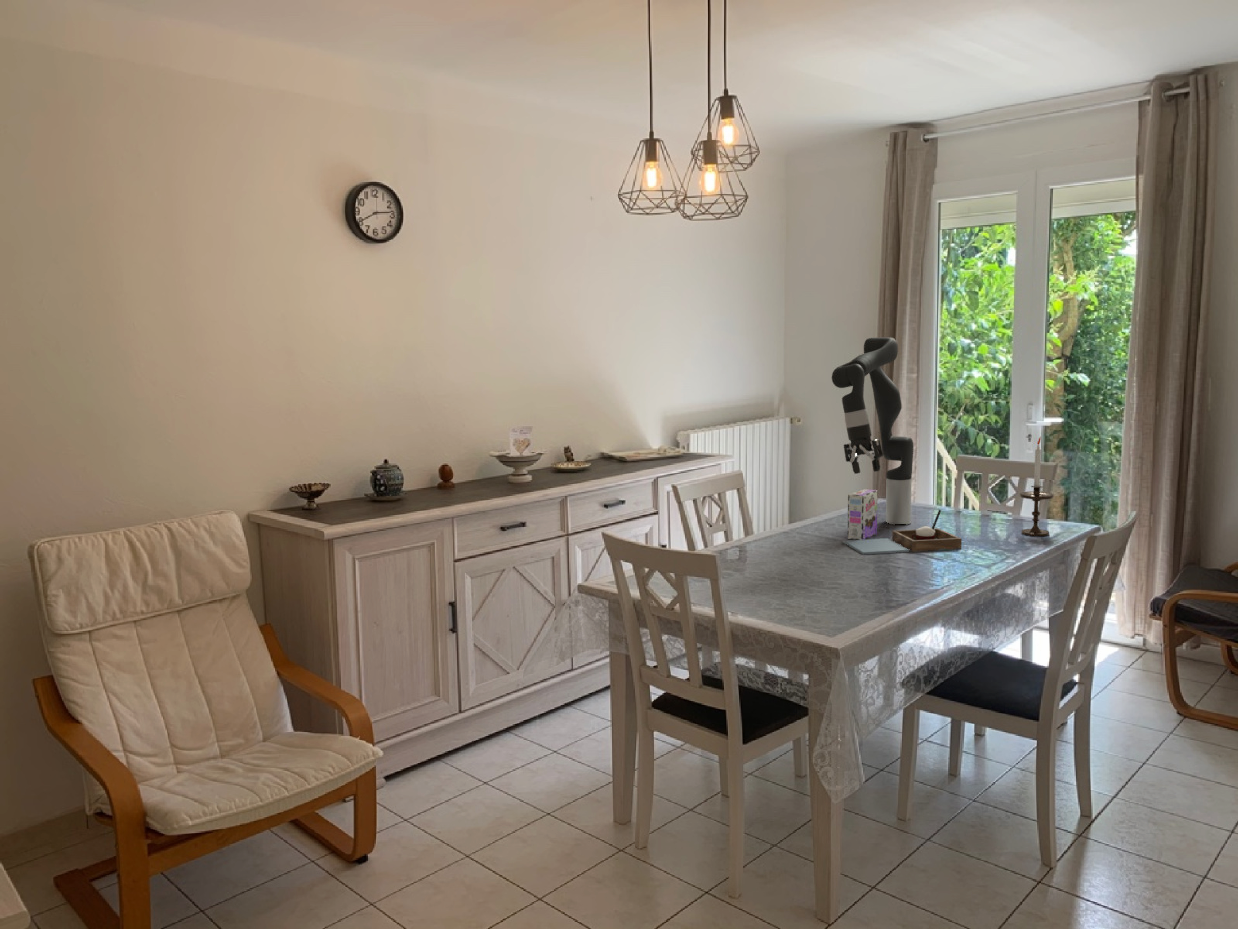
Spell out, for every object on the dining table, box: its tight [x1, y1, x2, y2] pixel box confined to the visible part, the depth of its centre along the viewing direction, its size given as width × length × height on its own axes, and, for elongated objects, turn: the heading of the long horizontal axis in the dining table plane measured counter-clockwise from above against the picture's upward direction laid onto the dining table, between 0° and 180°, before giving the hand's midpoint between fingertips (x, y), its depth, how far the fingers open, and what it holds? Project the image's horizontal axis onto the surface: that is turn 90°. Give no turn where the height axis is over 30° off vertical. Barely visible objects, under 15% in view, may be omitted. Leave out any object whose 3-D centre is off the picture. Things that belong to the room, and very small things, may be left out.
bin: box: [891, 527, 963, 552], centre depth 318 cm, size 17×17×4 cm
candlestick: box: [1019, 436, 1054, 537], centre depth 328 cm, size 11×11×35 cm
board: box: [843, 537, 910, 556], centre depth 317 cm, size 18×16×1 cm
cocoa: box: [912, 509, 942, 540], centre depth 318 cm, size 10×6×12 cm, turn 62°
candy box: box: [847, 488, 878, 540], centre depth 332 cm, size 14×6×16 cm, turn 143°
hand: (867, 472), depth 309 cm, fingers open, 8 cm apart
